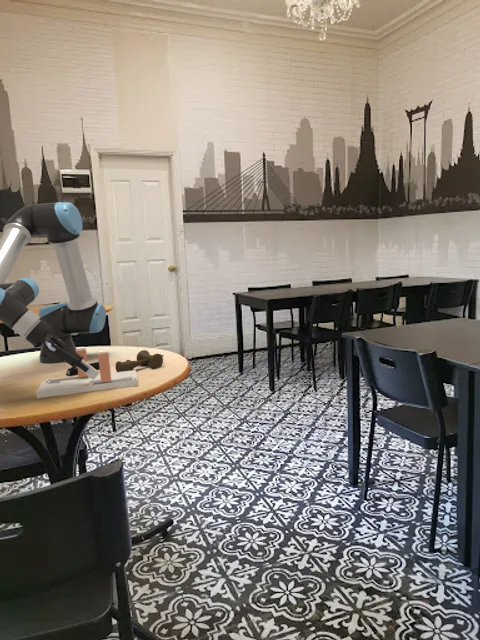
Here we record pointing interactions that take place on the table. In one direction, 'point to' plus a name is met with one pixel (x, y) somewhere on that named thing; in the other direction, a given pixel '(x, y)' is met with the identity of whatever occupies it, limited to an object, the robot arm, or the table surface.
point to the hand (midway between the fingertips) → (96, 376)
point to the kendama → (140, 361)
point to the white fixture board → (85, 384)
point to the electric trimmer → (75, 371)
